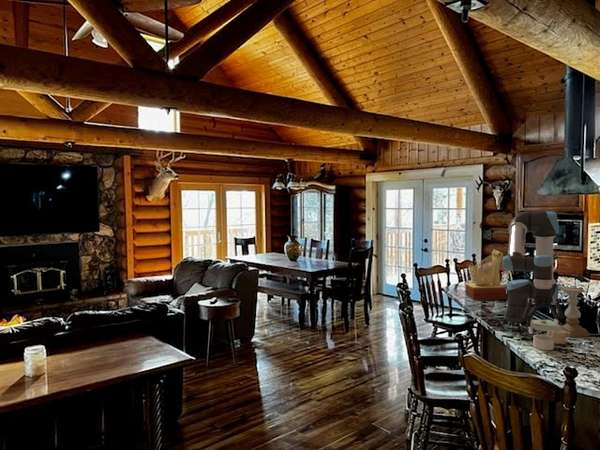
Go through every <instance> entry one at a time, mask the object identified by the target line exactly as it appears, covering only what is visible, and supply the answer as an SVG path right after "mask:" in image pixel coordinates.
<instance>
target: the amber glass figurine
mask: <svg viewBox="0 0 600 450" xmlns="http://www.w3.org/2000/svg"><path fill="white" fill-rule="evenodd" d="M503 257H504V253H503V252H502V251H499V250H496V248H494V249H493V250H492V252H491V255H489V256H486V257H485V258H484V259H482V260H481V261H480V262H479V263H478V264H475V265H470V264H469V265H468V268H469V269H468V270H469V274H470V276H471V280H472V282H469V283H468V282H467V283H465V296H466V297H468V298H470V299H471V300H473V301H479V300H480V301H482V300H506V299H507V286H506V285H503V284H501V283H500V274H499V268H500V266H501V261H503ZM485 263H489V264H490V263H491V264H490V265H489V269H488V272H489V273H487V268H486V267H484V266H485V265H488V264H485ZM483 264H484V266H482V265H483ZM481 266H482V267H483V268H484V270H483V268H482V270H483V271H482V270H480V268H481ZM487 267H488V266H487ZM490 267H492V269H491V268H490ZM490 269H491V270H490ZM485 270H486V273H485ZM489 270H490V271H489ZM480 271H481V272H480ZM486 274H487V275H486ZM488 274H489V275H488ZM491 275H492V276H491Z"/></svg>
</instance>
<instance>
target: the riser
mask: <svg viewBox="0 0 600 450" xmlns="http://www.w3.org/2000/svg"><path fill="white" fill-rule="evenodd" d="M546 332H547V333H546V335H548V336H551V337H553V338H554V345H555V344H556V345H557V344H558V345H559V344H560V345H561V344H566V343H567V339H566V337H567V336H566V332H564V331H562V330H558V334H556V333H554V330H546Z"/></svg>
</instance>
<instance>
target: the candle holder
mask: <svg viewBox="0 0 600 450" xmlns="http://www.w3.org/2000/svg"><path fill="white" fill-rule="evenodd" d="M560 290H561V291H563V292H564V293H565V292H566V294H567V295H568V299H567V300H566V302H567V303H568V307H567V308H566V309H565V311H564V317H566V318H565V323H564V325H560V326H561V330H562V331H564V332H566V337H568V338H587V337H590V335H591V334H590V332H588V329H587V328H584V327H582V326H581V325H580V320H579V318H581V315H582V314H581V312H580V310H579V309H578V307H577V305H578V303H579V300H578V298H577V297H578V295H579V294H580V293H584V292H585V289H583V288H580V287H572V286H566V287H561V289H560Z"/></svg>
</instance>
